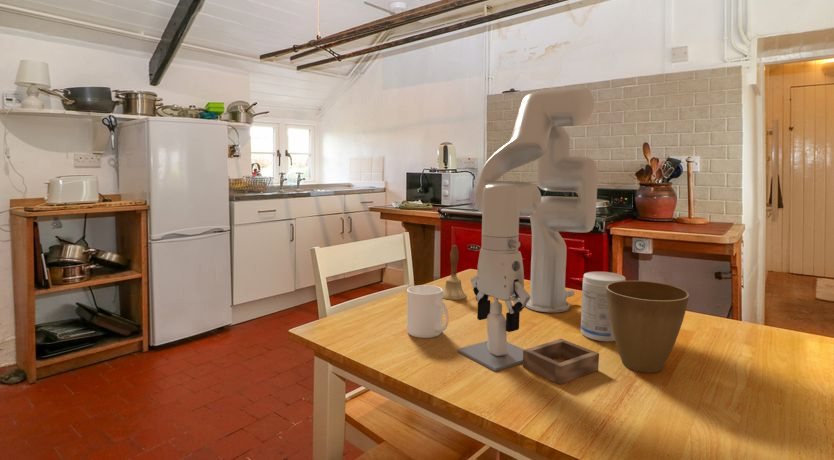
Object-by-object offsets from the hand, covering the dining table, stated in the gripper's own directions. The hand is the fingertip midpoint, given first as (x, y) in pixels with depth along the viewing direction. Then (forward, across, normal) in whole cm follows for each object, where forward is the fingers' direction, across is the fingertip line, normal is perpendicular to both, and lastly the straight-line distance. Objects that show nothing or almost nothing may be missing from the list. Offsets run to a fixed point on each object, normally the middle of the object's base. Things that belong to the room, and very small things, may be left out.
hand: (497, 324), depth 101 cm
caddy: (+7, -12, -6) cm, 15 cm away
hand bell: (+7, +41, -20) cm, 46 cm away
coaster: (+7, 0, 0) cm, 7 cm away
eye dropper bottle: (+6, 0, 0) cm, 6 cm away
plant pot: (+7, -20, -21) cm, 30 cm away
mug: (+7, +18, +5) cm, 20 cm away
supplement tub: (+7, -5, -29) cm, 30 cm away
